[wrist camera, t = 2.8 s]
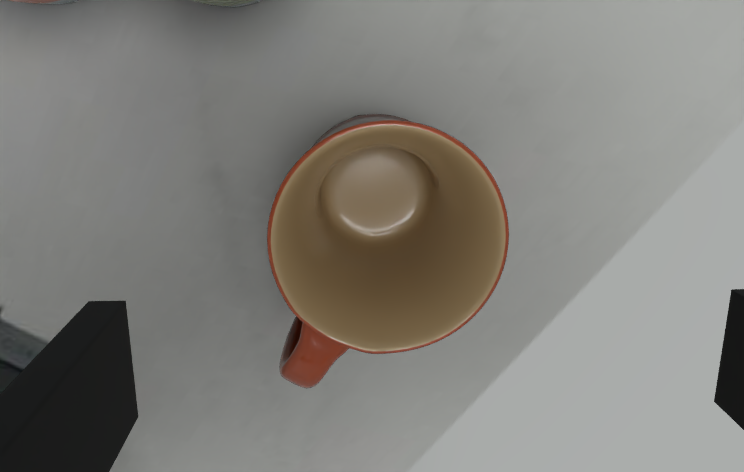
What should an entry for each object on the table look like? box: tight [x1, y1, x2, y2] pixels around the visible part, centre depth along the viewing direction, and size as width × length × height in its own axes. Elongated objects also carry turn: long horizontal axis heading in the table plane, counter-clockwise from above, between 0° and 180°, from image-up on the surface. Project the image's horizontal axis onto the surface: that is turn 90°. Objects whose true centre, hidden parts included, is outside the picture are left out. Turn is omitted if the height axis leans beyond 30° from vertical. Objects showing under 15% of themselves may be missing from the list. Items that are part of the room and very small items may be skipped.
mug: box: [267, 114, 509, 388], centre depth 30 cm, size 12×9×10 cm
